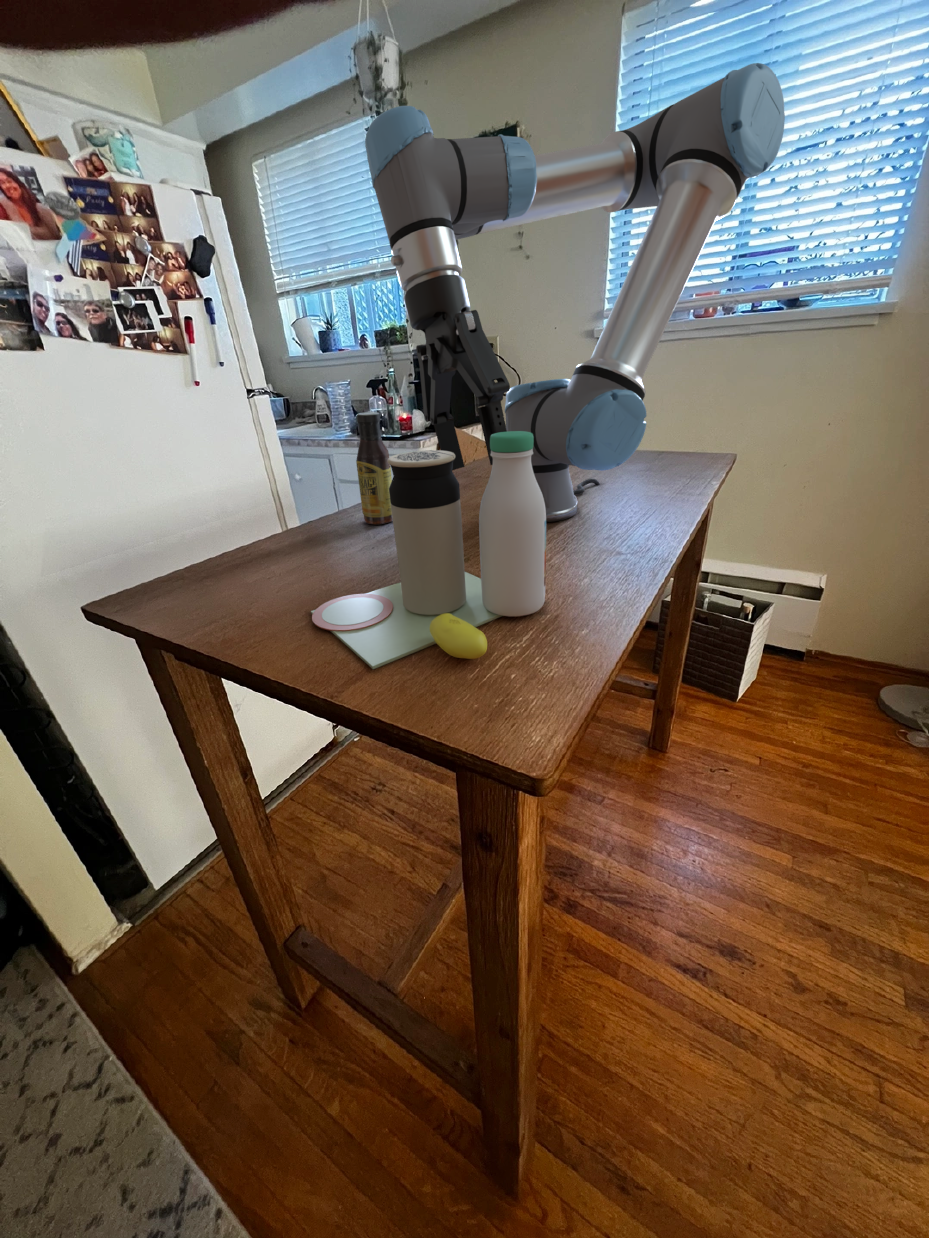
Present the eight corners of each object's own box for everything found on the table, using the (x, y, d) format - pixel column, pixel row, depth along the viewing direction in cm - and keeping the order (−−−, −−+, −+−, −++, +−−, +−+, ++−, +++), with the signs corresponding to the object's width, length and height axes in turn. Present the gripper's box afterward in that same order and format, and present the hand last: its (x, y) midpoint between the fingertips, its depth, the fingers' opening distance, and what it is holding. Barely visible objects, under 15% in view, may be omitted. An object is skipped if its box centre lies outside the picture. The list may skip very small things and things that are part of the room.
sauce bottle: (357, 522, 99) (340, 414, 89) (382, 515, 103) (368, 410, 93) (378, 528, 95) (362, 415, 85) (403, 520, 99) (391, 411, 89)
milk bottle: (542, 619, 58) (546, 437, 49) (477, 616, 59) (468, 440, 50) (546, 591, 64) (550, 427, 55) (487, 589, 66) (481, 429, 57)
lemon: (451, 629, 57) (450, 599, 55) (497, 661, 51) (497, 628, 49) (420, 642, 55) (417, 611, 53) (465, 676, 49) (464, 643, 47)
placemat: (448, 566, 76) (447, 562, 75) (530, 604, 62) (530, 600, 62) (300, 613, 64) (299, 609, 64) (364, 673, 51) (363, 668, 50)
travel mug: (415, 623, 59) (397, 466, 51) (395, 598, 65) (376, 455, 57) (476, 607, 62) (469, 456, 53) (451, 585, 68) (441, 447, 60)
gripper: (374, 323, 69) (418, 478, 76) (445, 238, 47) (498, 467, 54) (423, 315, 71) (461, 465, 78) (512, 230, 49) (554, 449, 56)
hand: (476, 466), depth 66 cm, fingers open, 13 cm apart
